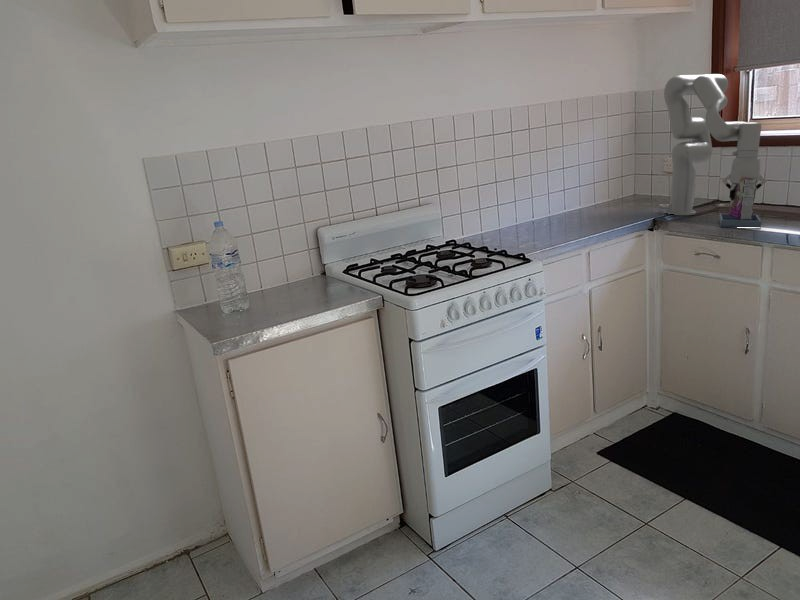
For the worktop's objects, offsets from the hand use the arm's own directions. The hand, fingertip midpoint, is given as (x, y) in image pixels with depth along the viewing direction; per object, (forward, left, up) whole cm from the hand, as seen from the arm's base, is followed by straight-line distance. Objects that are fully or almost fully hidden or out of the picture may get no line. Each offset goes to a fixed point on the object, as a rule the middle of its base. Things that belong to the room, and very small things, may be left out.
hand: (741, 199), depth 257 cm
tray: (0, 0, -10) cm, 10 cm away
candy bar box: (0, 0, -7) cm, 7 cm away
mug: (-22, +46, -10) cm, 52 cm away
